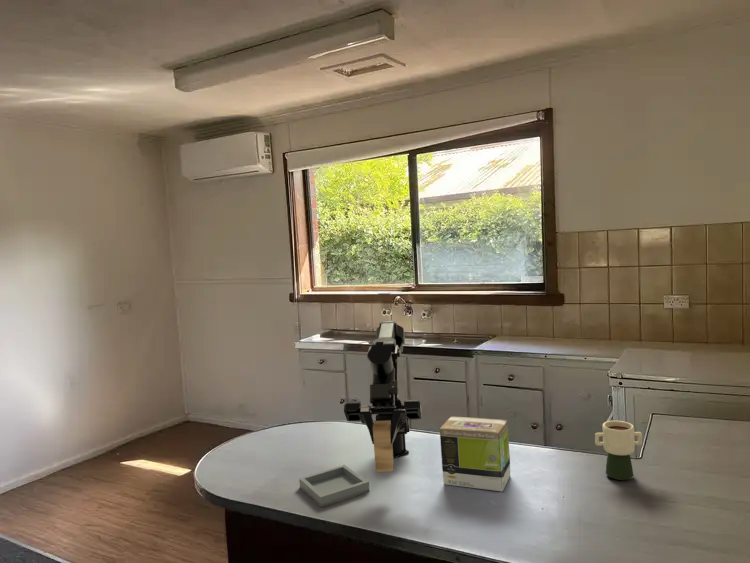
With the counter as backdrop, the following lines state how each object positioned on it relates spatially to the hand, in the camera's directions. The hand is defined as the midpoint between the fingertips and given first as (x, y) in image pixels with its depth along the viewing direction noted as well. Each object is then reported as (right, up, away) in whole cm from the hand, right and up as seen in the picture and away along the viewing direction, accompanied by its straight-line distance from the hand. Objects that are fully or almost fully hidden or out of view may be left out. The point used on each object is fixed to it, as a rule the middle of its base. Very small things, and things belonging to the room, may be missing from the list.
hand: (382, 443), depth 138 cm
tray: (-12, -14, +7) cm, 20 cm away
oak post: (+1, -6, +2) cm, 7 cm away
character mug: (+58, -9, +4) cm, 59 cm away
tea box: (+24, -12, +7) cm, 27 cm away
